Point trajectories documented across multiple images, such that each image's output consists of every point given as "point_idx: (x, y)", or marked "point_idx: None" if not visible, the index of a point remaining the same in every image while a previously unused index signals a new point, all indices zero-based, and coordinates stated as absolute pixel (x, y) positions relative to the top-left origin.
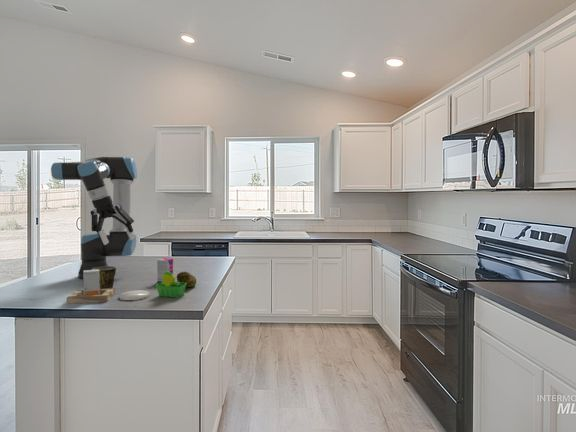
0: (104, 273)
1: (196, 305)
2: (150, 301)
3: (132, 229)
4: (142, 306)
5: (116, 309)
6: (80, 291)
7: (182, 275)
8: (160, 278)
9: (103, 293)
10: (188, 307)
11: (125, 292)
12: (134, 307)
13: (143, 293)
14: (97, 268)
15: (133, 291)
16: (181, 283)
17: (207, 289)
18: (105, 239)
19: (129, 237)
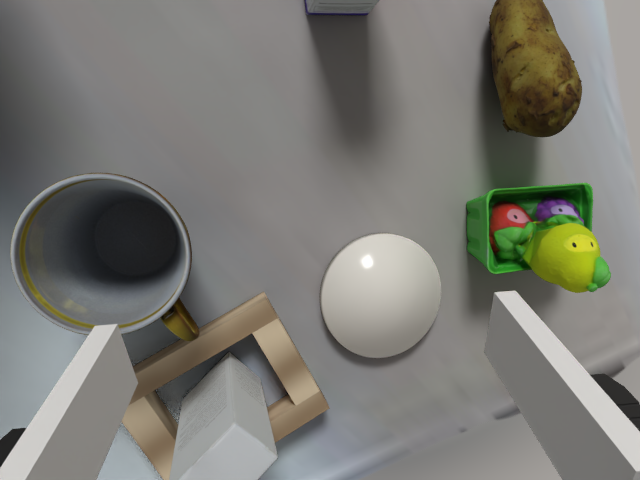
0: (177, 310)
1: (635, 303)
2: (476, 323)
3: (630, 407)
4: (484, 383)
5: (424, 445)
6: (145, 407)
7: (563, 123)
8: (334, 6)
9: (287, 388)
10: (621, 331)
11: (328, 292)
12: (466, 402)
13: (414, 277)
14: (21, 246)
15: (351, 265)
16: (564, 186)
17: (594, 89)
18: (105, 404)
19: (508, 381)
